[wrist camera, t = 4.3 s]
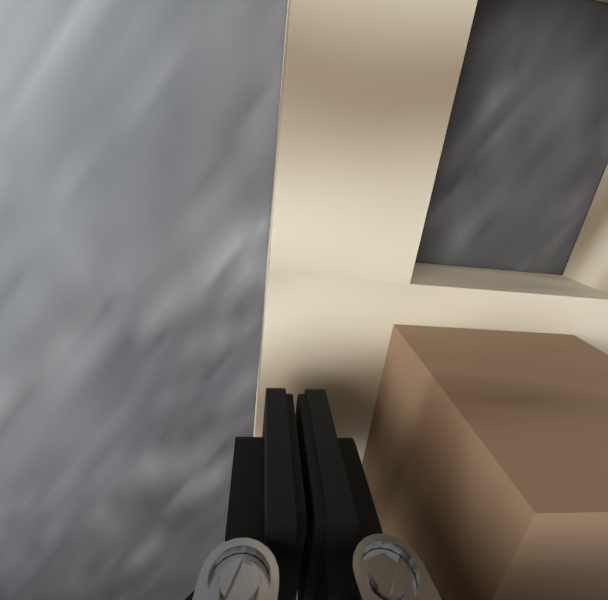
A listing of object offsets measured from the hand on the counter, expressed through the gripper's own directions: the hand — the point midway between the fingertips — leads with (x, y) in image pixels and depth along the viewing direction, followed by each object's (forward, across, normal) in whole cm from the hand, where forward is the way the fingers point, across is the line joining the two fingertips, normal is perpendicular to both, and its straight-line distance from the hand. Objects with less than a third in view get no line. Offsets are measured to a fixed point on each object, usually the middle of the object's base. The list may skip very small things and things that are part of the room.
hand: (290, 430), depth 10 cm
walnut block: (+1, -6, 0) cm, 6 cm away
